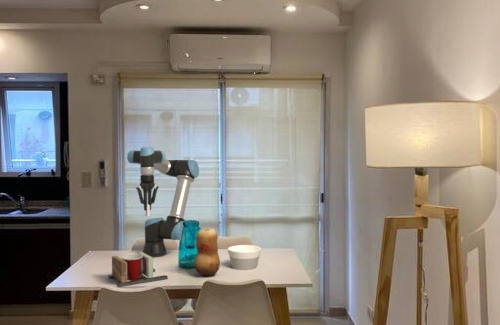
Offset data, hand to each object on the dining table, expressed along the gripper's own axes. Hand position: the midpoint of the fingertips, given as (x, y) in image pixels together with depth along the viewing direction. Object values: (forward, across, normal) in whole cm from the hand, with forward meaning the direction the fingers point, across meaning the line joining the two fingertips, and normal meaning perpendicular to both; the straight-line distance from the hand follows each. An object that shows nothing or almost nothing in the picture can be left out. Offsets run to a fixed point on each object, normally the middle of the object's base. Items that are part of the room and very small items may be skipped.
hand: (147, 215), depth 267 cm
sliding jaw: (+28, -9, -19) cm, 35 cm away
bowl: (+30, +46, -30) cm, 62 cm away
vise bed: (+29, -13, -19) cm, 37 cm away
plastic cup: (+29, -14, -19) cm, 38 cm away
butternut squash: (+30, +20, -34) cm, 49 cm away
